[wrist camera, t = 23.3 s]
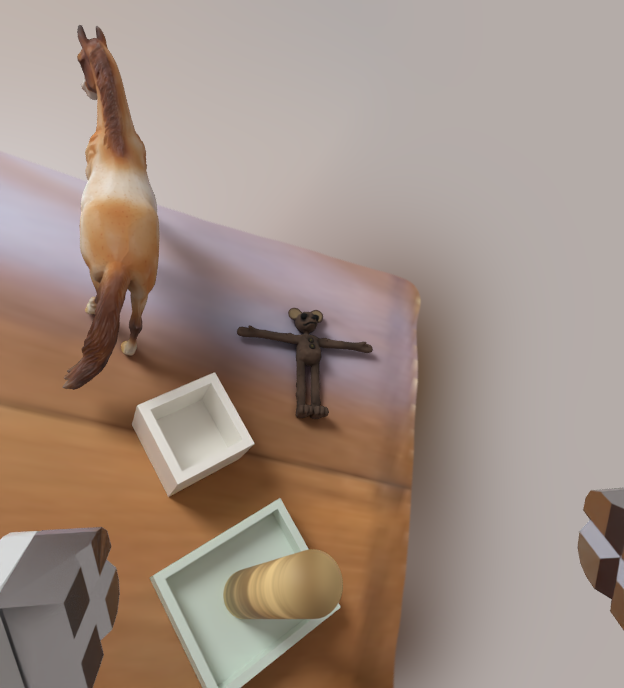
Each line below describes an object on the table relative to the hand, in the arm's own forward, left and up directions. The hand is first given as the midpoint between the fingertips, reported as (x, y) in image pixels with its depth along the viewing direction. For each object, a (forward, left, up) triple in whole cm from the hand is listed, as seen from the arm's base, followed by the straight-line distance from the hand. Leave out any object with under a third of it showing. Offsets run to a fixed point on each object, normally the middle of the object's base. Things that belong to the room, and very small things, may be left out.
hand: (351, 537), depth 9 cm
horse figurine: (+10, +33, -48) cm, 59 cm away
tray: (+9, -5, -48) cm, 49 cm away
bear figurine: (+29, +13, -48) cm, 58 cm away
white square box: (+11, +11, -48) cm, 50 cm away
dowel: (+9, -5, -47) cm, 48 cm away
